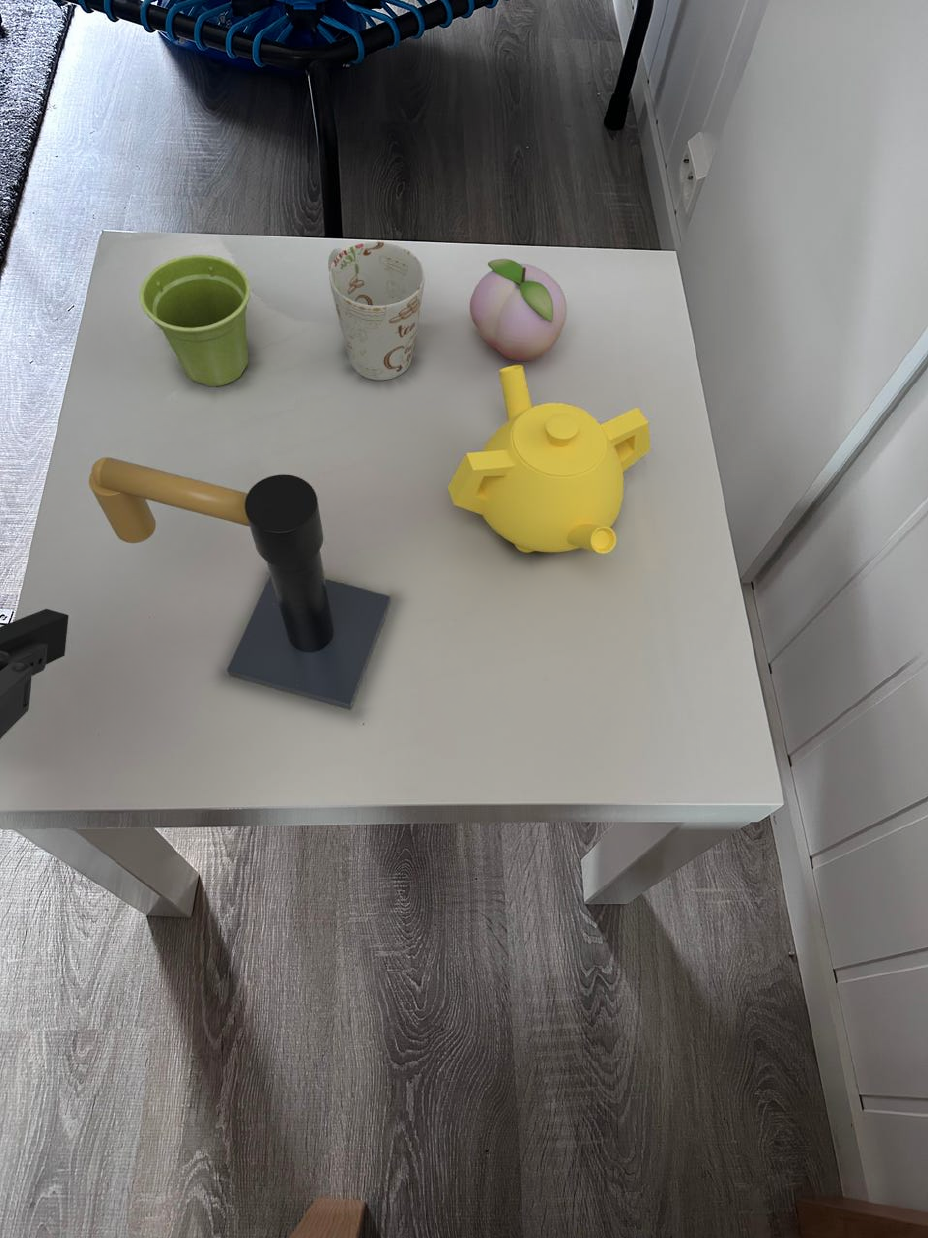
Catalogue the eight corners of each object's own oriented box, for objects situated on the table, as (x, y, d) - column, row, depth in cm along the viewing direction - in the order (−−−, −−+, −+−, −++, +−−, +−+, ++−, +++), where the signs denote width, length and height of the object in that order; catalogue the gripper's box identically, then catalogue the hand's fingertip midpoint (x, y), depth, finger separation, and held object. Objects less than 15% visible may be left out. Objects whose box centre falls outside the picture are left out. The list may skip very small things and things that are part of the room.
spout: (102, 546, 59) (61, 476, 52) (131, 497, 61) (94, 423, 54) (315, 604, 57) (302, 540, 50) (337, 552, 59) (327, 484, 52)
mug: (371, 403, 80) (366, 320, 71) (296, 326, 84) (282, 238, 75) (440, 364, 82) (443, 280, 74) (364, 292, 87) (358, 204, 78)
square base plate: (228, 675, 66) (186, 584, 53) (276, 571, 70) (247, 465, 58) (350, 710, 65) (336, 625, 53) (390, 602, 70) (386, 501, 57)
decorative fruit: (576, 355, 84) (596, 272, 75) (521, 398, 81) (535, 316, 72) (508, 306, 87) (519, 220, 78) (452, 345, 84) (457, 260, 75)
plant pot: (185, 414, 78) (161, 342, 70) (151, 347, 81) (124, 272, 74) (280, 381, 80) (266, 308, 73) (242, 317, 84) (226, 242, 76)
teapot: (410, 450, 77) (410, 359, 67) (586, 403, 81) (610, 312, 71) (491, 633, 69) (504, 560, 59) (683, 571, 73) (725, 493, 63)
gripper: (-195, 775, 28) (161, 602, 50) (-538, 669, 29) (-38, 546, 51) (-196, 961, 30) (146, 715, 52) (-514, 855, 31) (-45, 659, 53)
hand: (55, 632), depth 52 cm, fingers closed
